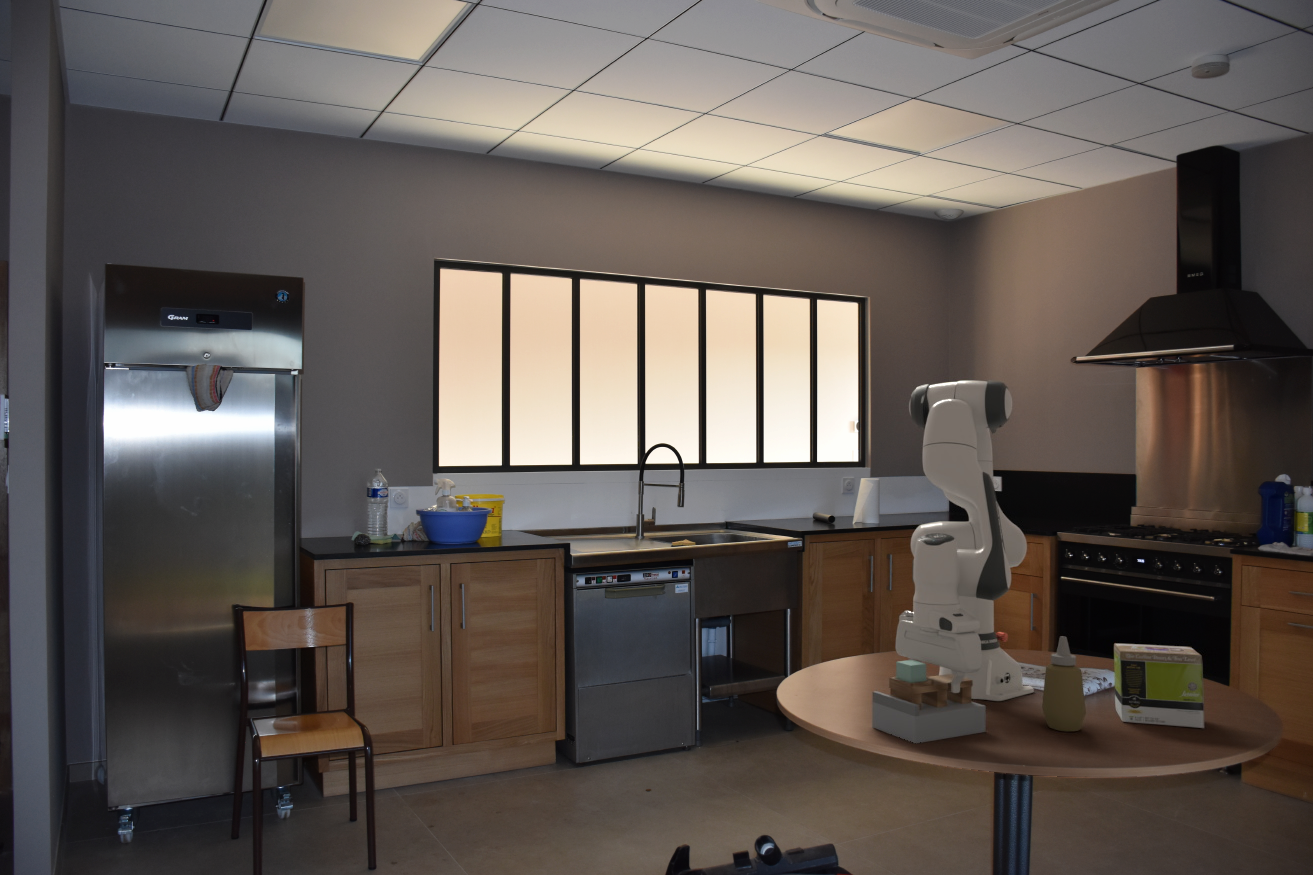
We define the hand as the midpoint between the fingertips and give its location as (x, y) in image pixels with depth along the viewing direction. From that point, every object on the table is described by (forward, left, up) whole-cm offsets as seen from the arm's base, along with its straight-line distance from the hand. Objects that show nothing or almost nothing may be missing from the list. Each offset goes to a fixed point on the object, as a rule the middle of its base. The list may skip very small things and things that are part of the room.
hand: (936, 686), depth 185 cm
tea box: (-46, +15, -8) cm, 49 cm away
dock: (+2, 0, -8) cm, 8 cm away
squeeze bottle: (-23, +11, -8) cm, 27 cm away
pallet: (+1, 0, -3) cm, 3 cm away
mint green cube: (+6, 0, +1) cm, 7 cm away
